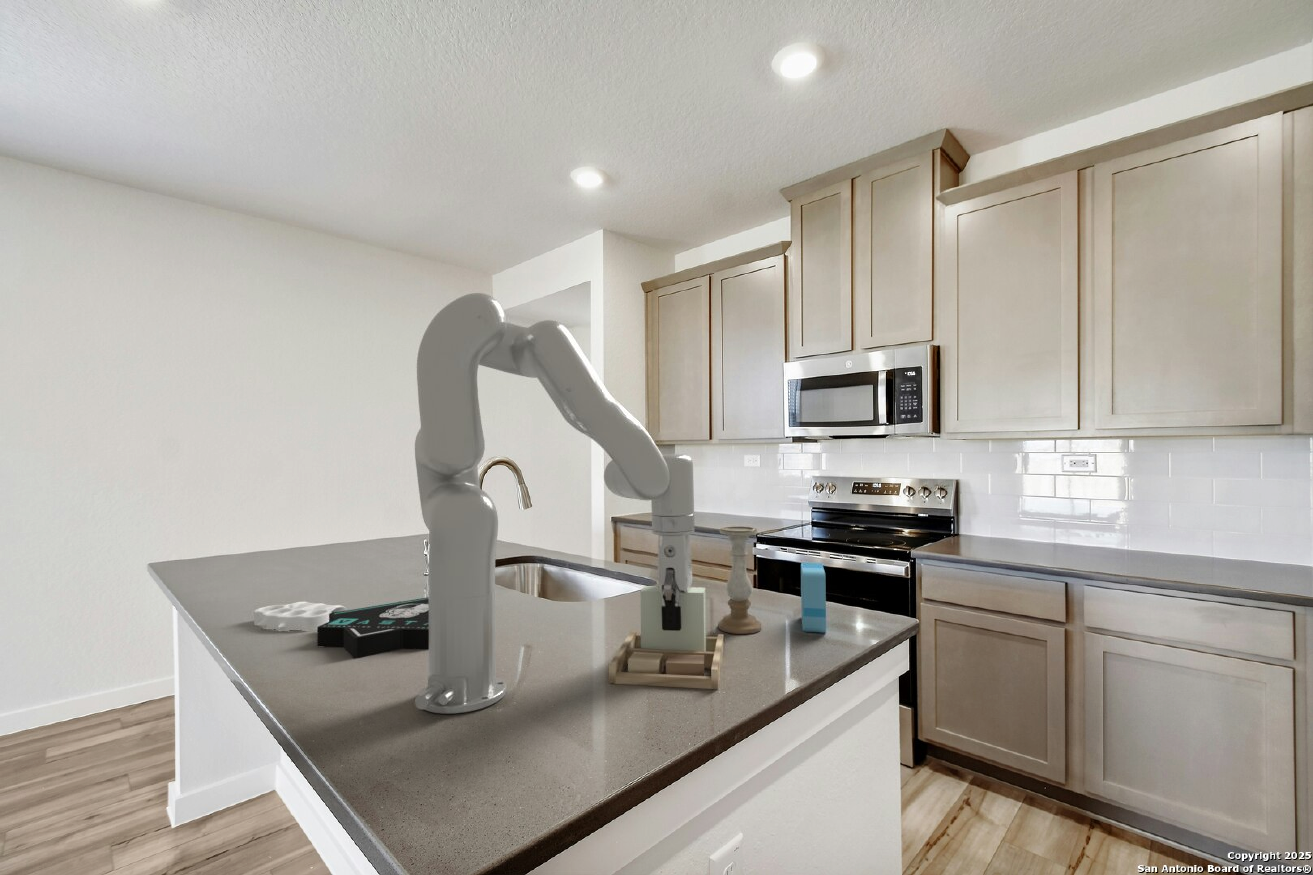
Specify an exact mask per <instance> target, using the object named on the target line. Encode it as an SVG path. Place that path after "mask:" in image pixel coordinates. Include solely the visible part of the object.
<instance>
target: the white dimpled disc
mask: <svg viewBox="0 0 1313 875" xmlns="http://www.w3.org/2000/svg"><path fill="white" fill-rule="evenodd" d="M347 610H348V609H347V607H346V606H343V605H341V604H336V605H334V604H333V605H332V604H325V603H322V602H320V603H319V602H318V603H316V602H315V603H314V602H308V601H296V602H292V603H287V604H275V605H274V604H273V605H267V606H262V607H258V608H256V609H255V610H254V611H253V625H258V627H261V628H263V629H262V630H265V629H276V630H275V631H277V630H280V631H279V632H281V631H283V630H284V631H288V630H296V629H297V630H298V629H300V630H303V631H306V630H315V629H317V627H318V626H321V625H323V624H325V623H327V622H329V614H330V613H335V612H341V611H347ZM303 631H302V632H303ZM288 632H289V631H288Z"/></svg>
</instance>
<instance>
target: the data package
mask: <svg viewBox="0 0 1313 875" xmlns="http://www.w3.org/2000/svg"><path fill="white" fill-rule="evenodd" d="M826 584H827V583H826V572H825V569H824V565H823V563H821V562H820V563H814V562H801V564H800V595H801V597H800V598H801V599H800V600H801V601H800V604H801V610H800V611H801V627H802V628H801V630H802V631H803V632H807V633H826V632H827V602H826V601H827V596H826V593H827V592H826V588H827V587H826Z"/></svg>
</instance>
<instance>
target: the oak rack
mask: <svg viewBox="0 0 1313 875" xmlns="http://www.w3.org/2000/svg"><path fill="white" fill-rule="evenodd" d="M724 636H725V635H724V634H722V633H721V634H720V633H719V634H717V636H706V651H687V650H665V649H642V648H641V633H638V631H637V630H631V631H630V632H629V634H628V635H627V637H626V638H625V640H624V641H623V643H622V645H620V648H619V649H618V651H616V654H615V655H614V656H613V658H612V659H611V661H610V662H609V664H608V668H609V669H608V671H609V672H608V682H609V683H608V684H611V683H614V685H633V686H646V687H647V686H649V687H669V688H683V689H684V688H687V689H705V690H706V689H708V690H719V685H720V678H721V672H722V665H723V658H724V653H725V651H724V650H725V646H724V645H725V642H724V641H725V640H724V638H725V637H724ZM633 652H644V653H661V654H663V667H666V660H667V656H668V654H678V655H704V669H709V670H711V671H710V672H711V675H709V676H705V675H704V676H689V675H670V674H666V673H662V674H650V673H631V672H628V671H624V670H625V668H626V666H627V665H626V664H628V660H629V658H630V657H631V655H632V654H633Z"/></svg>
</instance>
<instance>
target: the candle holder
mask: <svg viewBox="0 0 1313 875" xmlns="http://www.w3.org/2000/svg"><path fill="white" fill-rule="evenodd" d="M719 533H720V534H721V535H725V536H727V537H728V538H727V540H728V541H729V543H730V544H731V549H730V552H729V553H728V554H729V556H731V570H730V571H731V572H730V575H729V577H728V580H727V583H726V585H725V591H726V594H727V596H728V597H729V600H728V601H727V605H728V606H729V609H730V613H727V614H725V615H724V616H722V619H720V620H719V621H718V622H717V627H718V629H719V630H720V631H722V632H725V633H729V634H735V635H736V634H737V635H747V634H754V633H758V632H759V631H761V630H762V623H761V621H759V619H757V618H756V616H754V615H753V614H749V609H750V606H751V605H752V601H751V600H749V598H750V597H751V596H752V593H753V589H754V588H753V585H752V582H751V580H750V578H749V575H748V572H747V564H746V560H747V558H746V557H747V556H749V553H748V551H747V550H746V549H747V548H746V545H747V543H748V542H749V540H750V538H749V536H754V535H757V534H758V529H757V528H756V527H753V526H741V525H738V526H736V525H735V526H734V525H733V526H732V525H731V526H724V527H720V529H719Z"/></svg>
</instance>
